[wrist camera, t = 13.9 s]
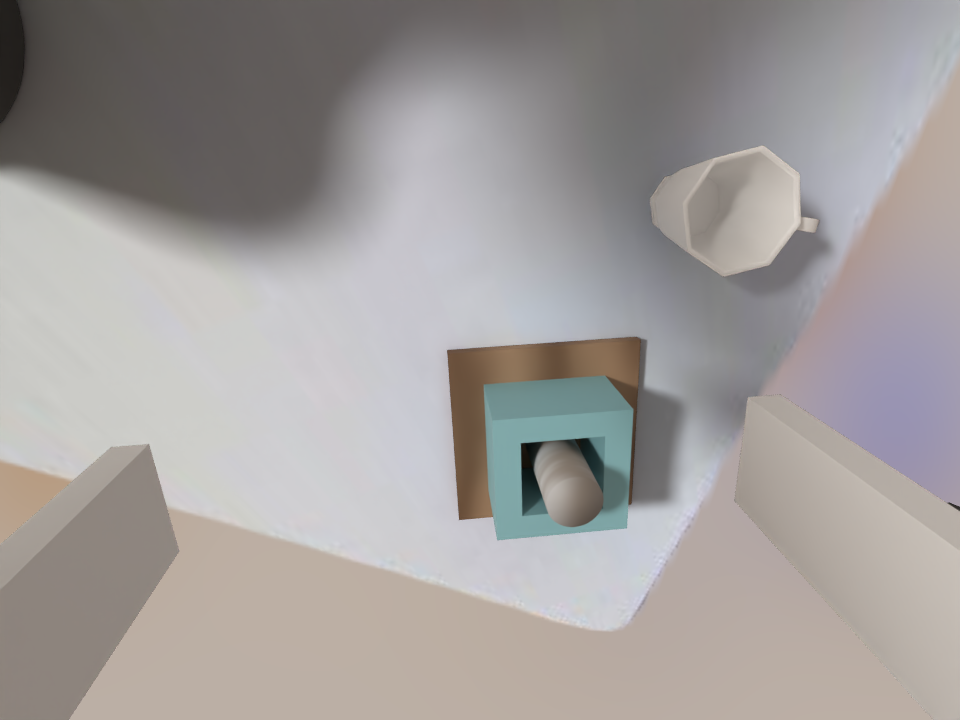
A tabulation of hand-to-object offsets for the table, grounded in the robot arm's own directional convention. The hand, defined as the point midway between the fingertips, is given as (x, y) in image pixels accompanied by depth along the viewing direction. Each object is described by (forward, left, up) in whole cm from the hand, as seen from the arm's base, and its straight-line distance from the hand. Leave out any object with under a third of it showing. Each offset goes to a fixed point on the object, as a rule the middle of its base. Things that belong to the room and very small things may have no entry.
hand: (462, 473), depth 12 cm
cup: (+18, +3, -27) cm, 33 cm away
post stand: (+7, -13, -27) cm, 31 cm away
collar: (+7, -13, -26) cm, 30 cm away
